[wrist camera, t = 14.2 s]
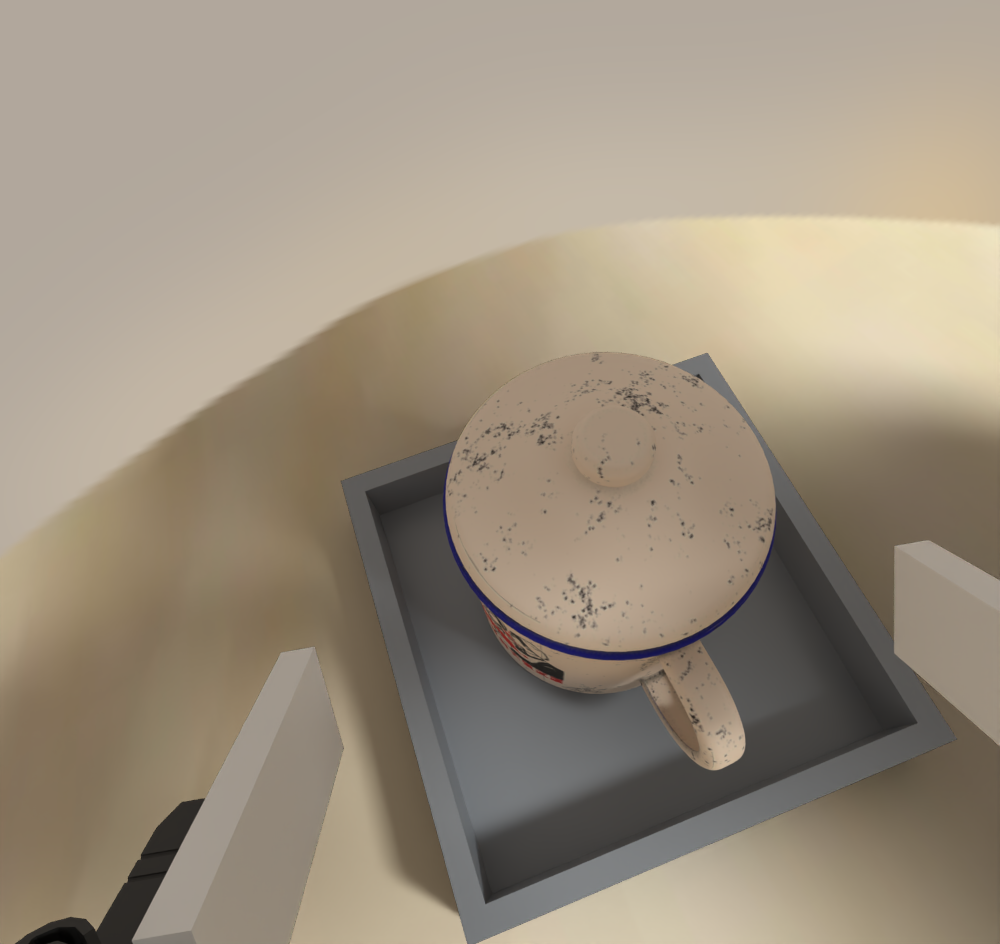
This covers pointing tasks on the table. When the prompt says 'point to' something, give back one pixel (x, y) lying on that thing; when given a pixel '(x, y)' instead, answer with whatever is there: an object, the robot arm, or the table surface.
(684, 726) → the teacup with lid
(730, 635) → the tray
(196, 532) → the table surface
